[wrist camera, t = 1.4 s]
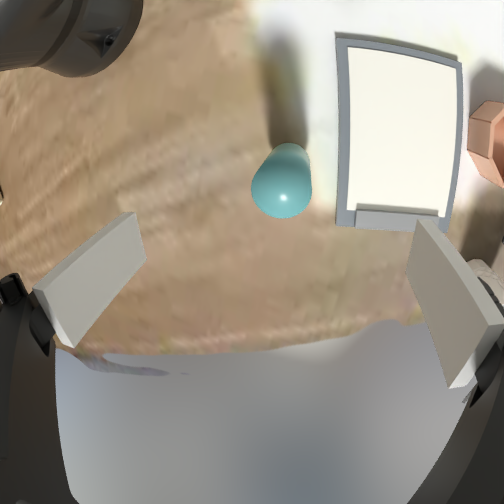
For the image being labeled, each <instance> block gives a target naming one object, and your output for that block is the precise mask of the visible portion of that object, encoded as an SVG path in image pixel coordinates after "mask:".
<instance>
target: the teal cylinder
mask: <svg viewBox="0 0 504 504" xmlns="http://www.w3.org/2000/svg"><path fill="white" fill-rule="evenodd" d="M251 192H252V197H253V199H254V202H255V203H256V205H257V206H258V207H259V208H260V209H261V210H262V211H263V212H264V213H266V214H268V215H270V216H272V217H276V218H290V217H293V216H295V215H297V214H299V213H301V212H302V211H303V210H304V209H305V208H306V207H307V205H308V203H309V201H310V199H311V195H312V186H311V171H310V160H309V156H308V154H307V152H306V151H305V150H304V149H303V148H302V147H301V146H299V145H297V144H294V143H283V144H280V145H278V146H276V147H275V148H274V149H273V150H272V151H271V153H270V154H269V156H268V157H267V158H266V160H265V161H264V163H263V164H262V165H261V167H260V168H259V170H258V171H257V172H256V174H255V176H254V178H253V180H252V185H251Z"/></svg>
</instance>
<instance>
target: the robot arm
mask: <svg viewBox="0 0 504 504" xmlns="http://www.w3.org/2000/svg"><path fill="white" fill-rule="evenodd" d="M141 13H142V0H0V71H5V70H11V69H18V68H25V67H35V66H38V67H41V68H44V69H46V70H49V71H51V72H54V73H56V74H59V75H61V76H64V77H87V76H91V75H94V74H96V73H98V72H100V71H102V70H103V69H105V68H106V67H108V66H109V65H110V64H111V63H112V62H113V61H115V60H116V59H117V58H118V56H119V55H120V54H121V53H122V52H123V51H124V49H125V48H126V47H127V45H128V44H129V42H130V40H131V39H132V37H133V35H134V33H135V31H136V29H137V26H138V24H139V21H140V17H141ZM146 261H147V258H146V254H145V250H144V247H143V243H142V239H141V234H140V230H139V226H138V222H137V217H136V213H135V212H124V213H122V214H121V215H119V216H118V217H117V218H115V219H114V220H113V221H111V222H110V223H109V224H107V225H106V226H105V227H103V228H102V229H101V230H99V231H98V232H97V233H95V234H94V235H93V236H92V237H90V238H89V239H88V240H87V241H85V242H84V243H83V244H82V245H80V246H79V247H78V248H77V249H75V250H74V251H73V252H72V253H71V254H69V255H68V256H67V257H66V258H65V259H63V260H62V261H61V262H60V263H59V264H58V265H57V266H55V267H54V268H53V269H52V270H51V271H50V272H49V273H47V274H46V275H45V276H44V277H43V278H42V279H41V280H40V281H39V282H38V283H37V284H35V285H34V286H33V287H32V289H33V291H32V292H31V293H30V294H29V295H28V293H27V291H26V289H25V287H24V284H23V282H22V280H21V278H20V276H19V274H18V273H12V274H9V275H7V276H5V277H4V278H2V279H1V280H0V299H1V300H2V302H3V304H2V303H1V301H0V504H79V503H78V502H77V501H76V500H75V499H74V497H73V496H72V494H71V492H70V489H69V485H68V481H67V476H66V471H65V467H64V461H63V456H62V450H61V443H60V436H59V428H58V418H57V407H56V388H55V347H56V345H55V341H54V339H53V338H52V337H53V335H54V334H55V333H56V334H57V336H58V337H59V339H60V340H61V342H62V344H65V345H67V346H70V347H73V348H75V347H76V345H77V344H78V343H79V341H80V340H81V339H82V337H83V336H84V335H85V333H86V332H87V331H88V330H89V328H90V327H91V326H92V325H93V323H94V322H95V321H96V320H97V318H98V317H99V316H100V315H101V313H102V312H103V311H104V310H105V308H106V307H107V306H108V305H109V304H110V302H111V301H112V300H113V299H114V297H115V296H116V295H117V294H118V293H119V292H120V290H121V289H122V288H123V287H124V286H125V284H126V283H127V282H128V281H129V280H130V279H131V278H132V276H133V275H134V274H135V273H136V272H137V271H138V270H139V268H140V267H141V266H142V265H143V264H144V263H145V262H146ZM405 273H406V275H407V277H408V280H409V282H410V284H411V286H412V289H413V291H414V293H415V295H416V298H417V300H418V303H419V305H420V307H421V310H422V312H423V315H424V317H425V320H426V323H427V325H428V328H429V331H430V333H431V336H432V339H433V342H434V345H435V348H436V350H437V353H438V356H439V360H440V363H441V366H442V369H443V372H444V376H445V379H446V382H447V386H448V388H455V387H461V386H466V385H467V384H468V382H469V381H470V380H471V378H472V377H473V376H474V374H475V376H476V379H477V381H478V382H477V384H476V385H475V386H474V388H473V389H472V390H471V391H470V392H469V394H468V395H467V396H466V397H465V399H464V400H463V401H462V402H463V403H465V402H466V401H467V400H468V402H467V404H466V407H465V409H464V411H463V413H462V415H461V417H460V419H459V422H458V423H457V425H456V427H455V430H454V431H453V433H452V435H451V437H450V439H449V441H448V443H447V444H446V446H445V448H444V450H443V451H442V453H441V455H440V457H439V458H438V460H437V462H436V463H435V465H434V466H433V468H432V470H431V471H430V473H429V474H428V476H427V477H426V479H425V480H424V481H423V483H422V484H421V486H420V487H419V489H418V490H417V491H416V493H415V494H414V495H413V497H412V498H411V499H410V501H409V502H408V503H407V504H504V307H503V306H502V304H501V303H499V300H498V298H497V297H496V296H495V295H494V292H493V291H492V289H491V288H490V286H489V285H488V284H487V283H486V282H485V281H483V280H482V279H481V278H480V277H477V276H476V275H475V273H474V272H473V271H472V269H471V268H470V267H469V265H468V264H467V263H466V261H465V260H464V259H463V257H462V256H461V255H460V253H459V252H458V251H457V250H456V248H455V247H454V246H453V245H452V243H451V242H450V241H449V240H448V239H447V237H446V236H445V235H444V234H443V233H442V232H441V230H440V229H439V228H438V227H437V226H436V225H435V223H434V222H433V221H432V220H425V219H417V222H416V227H415V232H414V237H413V242H412V246H411V251H410V255H409V259H408V264H407V268H406V271H405Z"/></svg>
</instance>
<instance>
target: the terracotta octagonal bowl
mask: <svg viewBox="0 0 504 504" xmlns="http://www.w3.org/2000/svg"><path fill="white" fill-rule="evenodd" d="M470 118H471V119H470ZM470 118H469V129H468V144H467V149H468V150H467V151H468V152H469V154H470V156H471V158H472V160H473V161H474V163H475V165H476V167H477V169H478V171H479V173H480V175H481V176H483V177H484V178H486V179H488V180H489V181H491V182H493V183H494V184H496V185H498V186H499V187H501V188H504V103H501V102H493V101H485V102H484V103H483V104H482V105H481V106H480V107H479V108H478V109H477V110H476V111H475V112H474V113H473V114H472V115H471V116H470Z"/></svg>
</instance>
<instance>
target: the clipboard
mask: <svg viewBox="0 0 504 504" xmlns="http://www.w3.org/2000/svg"><path fill="white" fill-rule="evenodd" d="M336 52H337V68H338V91H339V166H338V190H337V207H336V222H335V224H336V226H345V227H355V228H357V229H375V230H392V231H408V232H415V227H416V222H417V219H425V220H432V221H433V222H434V223H435V225H436V226H437V227H438V228H439V229H440V230H441V232H442V233H447V231H448V227H449V222H450V218H451V213H452V208H453V203H454V197H455V191H456V185H457V179H458V171H459V163H460V154H461V143H462V127H463V77H462V63H460V62H458V61H454V60H451V59H448V58H445V57H442V56H438V55H435V54H431V53H427V52H423V51H419V50H415V49H411V48H406V47H401V46H396V45H391V44H385V43H379V42H372V41H364V40H356V39H346V38H336Z"/></svg>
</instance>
